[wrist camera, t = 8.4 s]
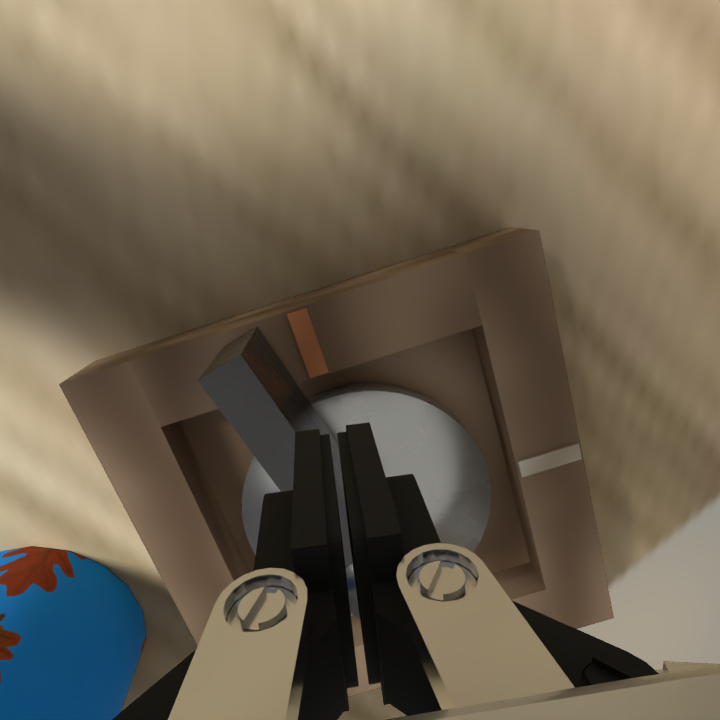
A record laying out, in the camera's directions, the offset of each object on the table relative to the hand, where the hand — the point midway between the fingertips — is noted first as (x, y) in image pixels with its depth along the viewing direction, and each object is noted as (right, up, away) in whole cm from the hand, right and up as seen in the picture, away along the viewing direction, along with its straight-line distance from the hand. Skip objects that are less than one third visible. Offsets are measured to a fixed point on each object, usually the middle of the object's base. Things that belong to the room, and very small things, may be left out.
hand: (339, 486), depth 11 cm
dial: (0, -2, +13) cm, 13 cm away
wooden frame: (+1, -3, +15) cm, 15 cm away
